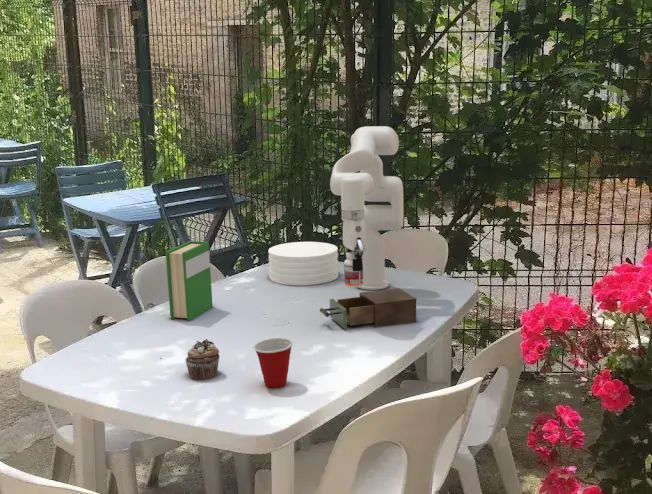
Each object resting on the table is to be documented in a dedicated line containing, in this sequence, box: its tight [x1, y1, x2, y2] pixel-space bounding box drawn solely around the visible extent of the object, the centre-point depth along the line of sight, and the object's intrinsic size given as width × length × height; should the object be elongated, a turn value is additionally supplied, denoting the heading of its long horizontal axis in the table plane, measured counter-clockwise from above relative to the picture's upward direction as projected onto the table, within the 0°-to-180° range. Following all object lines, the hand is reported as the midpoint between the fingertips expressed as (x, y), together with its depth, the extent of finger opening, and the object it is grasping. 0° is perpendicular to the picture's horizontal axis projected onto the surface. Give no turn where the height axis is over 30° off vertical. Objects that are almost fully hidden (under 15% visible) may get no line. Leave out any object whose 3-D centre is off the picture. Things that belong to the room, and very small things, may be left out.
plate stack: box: [268, 241, 339, 286], centre depth 348 cm, size 28×28×12 cm
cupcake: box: [184, 338, 220, 381], centre depth 243 cm, size 10×10×10 cm
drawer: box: [319, 296, 375, 329], centre depth 286 cm, size 18×13×6 cm
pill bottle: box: [343, 252, 363, 289], centre depth 283 cm, size 6×6×11 cm
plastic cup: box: [252, 337, 294, 389], centre depth 234 cm, size 11×11×12 cm
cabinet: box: [358, 287, 417, 328], centre depth 290 cm, size 15×15×8 cm
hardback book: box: [165, 240, 214, 322], centre depth 301 cm, size 18×7×24 cm, turn 159°
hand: (353, 267), depth 282 cm, fingers closed on pill bottle, 6 cm apart
